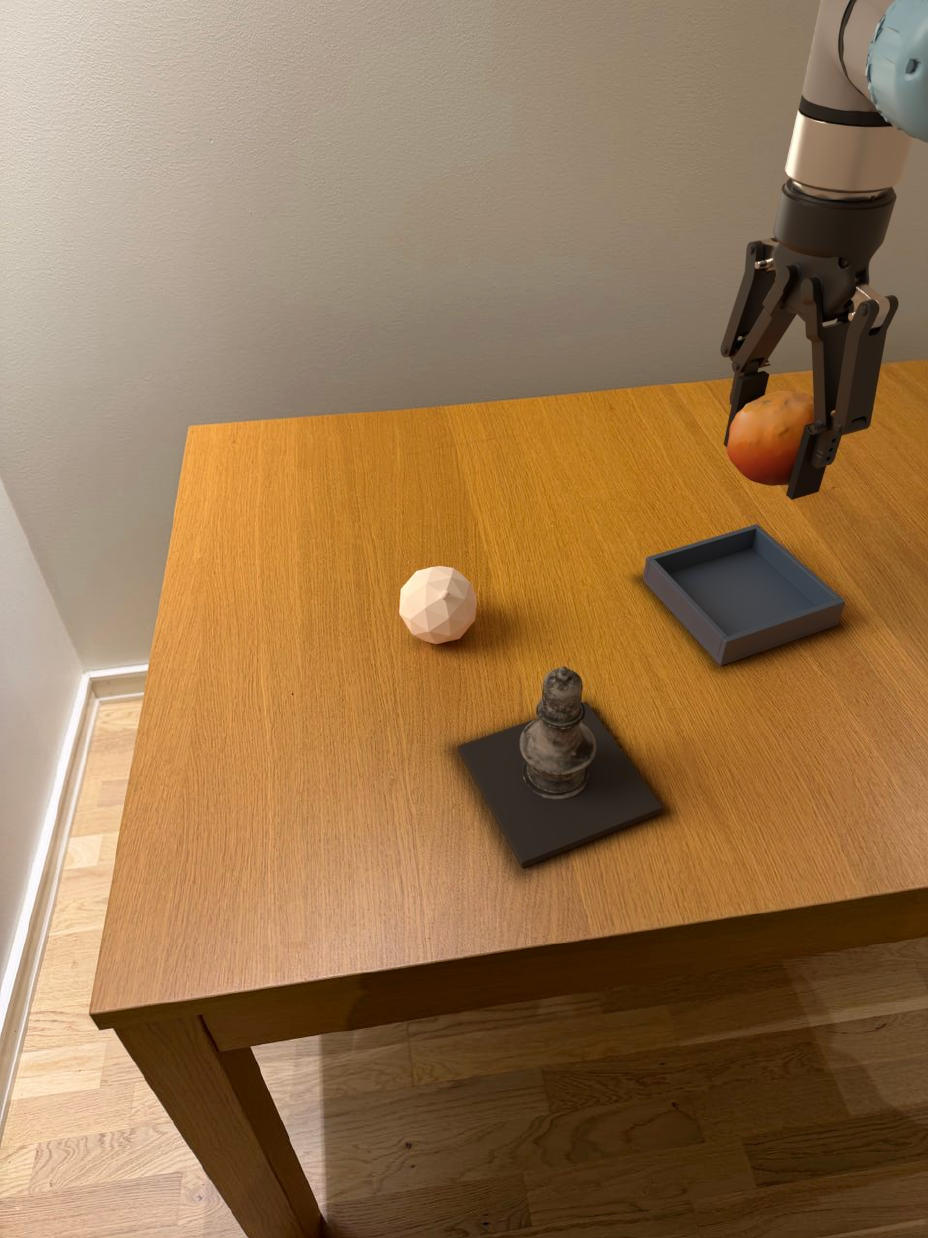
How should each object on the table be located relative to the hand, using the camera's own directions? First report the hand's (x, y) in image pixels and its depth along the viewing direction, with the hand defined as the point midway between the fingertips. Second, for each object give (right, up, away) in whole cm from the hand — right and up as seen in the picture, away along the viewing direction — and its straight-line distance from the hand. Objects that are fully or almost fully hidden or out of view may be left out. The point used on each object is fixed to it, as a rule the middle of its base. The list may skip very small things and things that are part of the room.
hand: (769, 467), depth 76 cm
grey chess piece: (-19, -25, -5) cm, 32 cm away
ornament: (-28, -14, +8) cm, 33 cm away
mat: (-19, -26, -5) cm, 32 cm away
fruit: (0, 0, 0) cm, 0 cm away
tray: (0, -11, +10) cm, 15 cm away
